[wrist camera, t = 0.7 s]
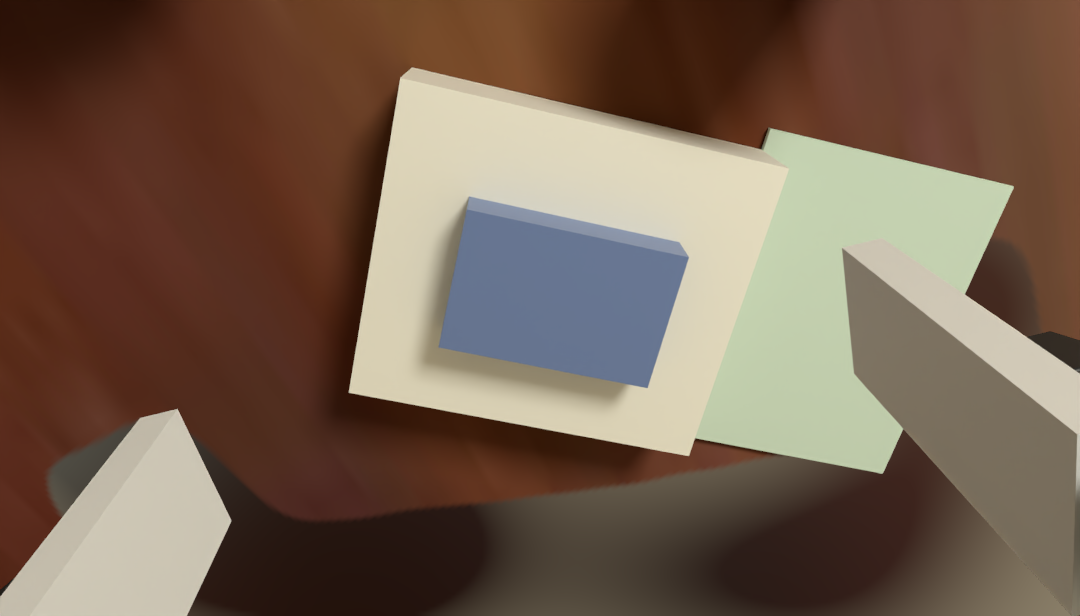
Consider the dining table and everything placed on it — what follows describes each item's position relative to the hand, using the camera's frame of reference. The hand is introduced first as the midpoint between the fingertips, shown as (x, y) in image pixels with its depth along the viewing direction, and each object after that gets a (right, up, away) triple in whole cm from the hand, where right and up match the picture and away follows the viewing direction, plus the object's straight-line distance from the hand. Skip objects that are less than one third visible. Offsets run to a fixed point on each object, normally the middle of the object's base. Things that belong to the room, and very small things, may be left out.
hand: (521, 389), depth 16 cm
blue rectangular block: (+1, +3, +19) cm, 19 cm away
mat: (+15, +1, +24) cm, 28 cm away
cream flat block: (+1, +4, +23) cm, 23 cm away
